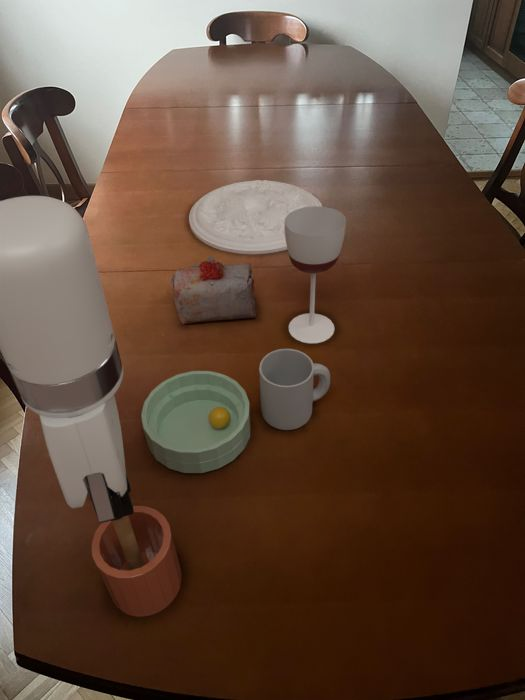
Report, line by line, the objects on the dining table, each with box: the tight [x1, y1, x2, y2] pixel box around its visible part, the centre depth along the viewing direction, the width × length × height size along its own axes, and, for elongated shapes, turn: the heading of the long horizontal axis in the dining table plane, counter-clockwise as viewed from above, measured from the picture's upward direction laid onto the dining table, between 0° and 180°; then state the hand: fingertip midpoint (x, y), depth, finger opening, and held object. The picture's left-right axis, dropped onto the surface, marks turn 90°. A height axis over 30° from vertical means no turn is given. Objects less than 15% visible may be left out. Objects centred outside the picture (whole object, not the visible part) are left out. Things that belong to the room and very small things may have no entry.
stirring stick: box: [112, 516, 144, 570], centre depth 59 cm, size 2×2×20 cm
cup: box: [258, 348, 331, 431], centre depth 81 cm, size 7×10×9 cm
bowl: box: [140, 370, 252, 474], centre depth 80 cm, size 14×14×5 cm
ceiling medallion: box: [188, 179, 324, 255], centre depth 122 cm, size 28×28×3 cm
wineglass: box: [285, 206, 347, 344], centre depth 90 cm, size 8×9×20 cm
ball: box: [208, 407, 230, 429], centre depth 80 cm, size 3×3×3 cm
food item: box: [170, 255, 258, 325], centre depth 97 cm, size 14×8×10 cm, turn 95°
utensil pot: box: [91, 505, 183, 618], centre depth 63 cm, size 8×8×9 cm
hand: (115, 504), depth 55 cm, fingers closed on stirring stick, 1 cm apart
